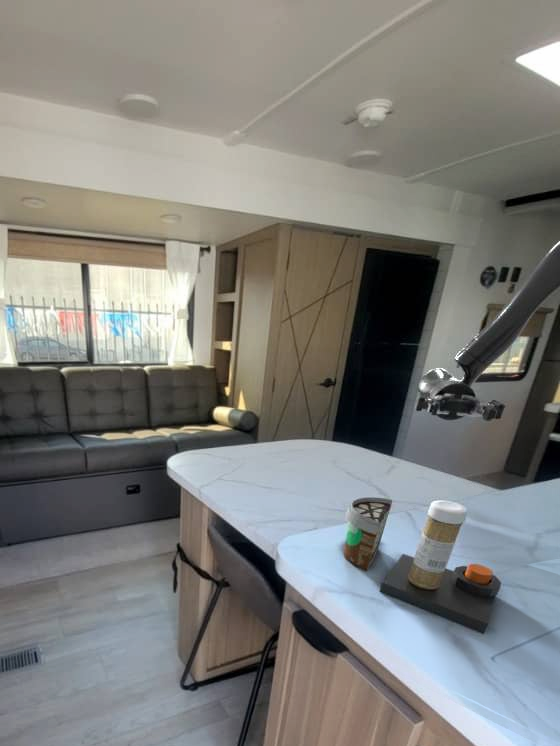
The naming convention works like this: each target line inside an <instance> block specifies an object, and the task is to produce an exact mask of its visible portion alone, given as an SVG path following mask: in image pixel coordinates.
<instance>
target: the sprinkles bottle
mask: <svg viewBox="0 0 560 746" xmlns="http://www.w3.org/2000/svg"><path fill="white" fill-rule="evenodd" d="M467 515H468V509H467V507H465V506H464V505H462V504H459V503H457V502H454V501H449V500H442V499H441V500H434V501H432V502H431V504H430V506H429V508H428V512H427V520H426V522H425V525H424V528H423V530H422V533H421V536H420V539H419V542H418V545H417V549H416V551H415V554H414V556H413V557H414V561H413V565H412V567H411V571H410V573H409V574H408V579H409V581H410V582H411V583H413V584H414V585H416V586H418V587H420V588H423V589H432V590H433V589H437V588H438V587H439V586H440V581H441V578H442V576H443V573H444V570H445V568H446V569H447V565H448V563H449V560H450V558H451V555H452V552H453V550H454V547H455V545H456V541H457V538H458V535H459V533H460V530H461V526H462V525H463V524H464V522H465V521H466V518H467Z"/></svg>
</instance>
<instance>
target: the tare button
mask: <svg viewBox="0 0 560 746" xmlns="http://www.w3.org/2000/svg"><path fill="white" fill-rule="evenodd" d="M467 566H468V567H467V570H466V572H465V577H466V578H468V579H470V580H471V581H474V582H477V583H480V584H488V583H489V581H490V579H491V576H492V575H494V573H493V570H492V569H490V568H489V567H487V566H484V565H483V564H478V563H470V564H468V565H467Z"/></svg>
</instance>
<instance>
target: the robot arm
mask: <svg viewBox="0 0 560 746" xmlns="http://www.w3.org/2000/svg"><path fill="white" fill-rule="evenodd" d="M559 288H560V240H559V241H557V243H556V244H555V245H554V246H553V247H552V248H551V249H550V250H549V251H548V253H547V254H546V255H545V256H544V257H543V258H542V260H541V261H540V262H539V263H538V265H537V266H536V267H535V268H534V270H533V271H532V272H531V273H530V274H529V276H528V277H527V279H526V280H525V281H524V282H523V283H521V286H520V287H519V288H518V289H517V290H516V291H515V293H514V294H513V295H512V296H511V297H510V299H509V300H508V301H507V302H506V304H505V305H504V306H503V307H502V308H501V309H500V310H499V311H498V313H497V314H496V315H495V316H494V317H493V318H492V319H491V320H490V321H489V323H488V324H486V326H484V328H482V329H481V331H480V332H478V333H477V334H476V335H475V337H473V338H472V339H471V340H470V341H469V342H468V343H467V344H466V345H465V346H464V347H463V348H462V349H461V350H460V351H459V352H458V353H457V354H456V356H455V357H454V361H455V363H456V364H457V366H458V367H459V368H460V370H462V372H463V376H462V378H461V380H459V379H458V378H456V377H455V376H453V375H452V374H451V373H449V372H448V371H447V370H446V369H444V368H441V367H438V368H434V369H430V370H429V371H428V372H426V373H425V374H424V375H423V376H422V377H421V379H420V380H419V382H418V385H417V392H418V395H417V397H416V401H415V405H414V411H416V412H422V411H423V410H425V411H424V412H425V413H428V414H430V416H436V417H438V418H439V419H442V420H444V421H455V420H459V419H463V418H464V417H469V418H472V419H476V418H477V419H479V418H482V419H483V420H484V421H487V422H491V421H492V420H501V419H502V416H503V413H504V410H505V408H506V406H507V405H506V404H504V403H502V402H500V401H499V400H496V399H491V400H488V402H486V400H485V399H483V398H478V397H476V396H477V395H476V393H475V391H474V390H473V388H472V386H473V385H474V384H475V382H476V381H477V380H478V378H479V377H480V376H481V375H482V374H483V373H484V372H485V371H486V370H487V369H488V368H489V367H490V366H491V365H493V363H495V362H496V361H498V359H499V358H500V357H502V356H503V355H504V354H505V353H506V352H507V351H508V350H509V349H510V348H511V347H512V346H513V345H514V344H515V343H516V341H517V339H518V338H519V337H520V335H521V333H522V332H523V330H524V329H525V327H526V326H527V324H528V323H529V321H530V319H531V318H532V316H533V314H535V313H536V311H537V310H538V309H539V308H540V307H541V305H542V304H543V303H544V302H545V301H546V300H547V299H548V298H549V297H550V296H551V295H552V294H553V293H555V292H556V291H557V290H558V289H559Z"/></svg>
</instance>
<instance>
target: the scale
mask: <svg viewBox="0 0 560 746" xmlns="http://www.w3.org/2000/svg"><path fill="white" fill-rule="evenodd" d="M414 557H415V556H411V555H408V554H404V553H402V555H401V556H400V557H399V559H398V560H397V561H396V563H395V564H394V565H393V567H392V568H391V570H390V571H389V572H388V573H387V575H386V577H384V579H383V581H382V582H381V584H380V588H379V591H378V592H379V593H381V594H383V595H386V596H388V597H391V598H393V599H395V600H398V601H401V602H403V603H405V604H408V605H411V606H413V607H415V608H418V609H421V610H423V611H426V612H428V613H431V614H433V615H436V616H437V617H440V618H443V619H446V620H447V621H449V622H452V623H454V624H457V625H460V626H463V627H465V628H467V629H470V630H472V631H475V632H477V633H480V634H482V635H485V632H486V631H487V628H488V626H489V623H490V619H491V616H492V612H493V608H494V604H495V601H496V596H497V595H498V593H499V591H500V589H501V586H502V581H501V580H500V579H499V578H498V577H497V576H496V575H494V574H492V576H491V579H490V581H489V583H488V584H480V583H477V582H474V581H471V580H470V579H468V578H466V577H465V572H466V570H467V567H468V565H461V566H455V568H454V570H452V569H449V568H447V567H446V568H445V570H444V573H443V576H442V578H441V581H440V586H439V587H438V588H437V589H433V590H432V589H423V588H420V587H418V586H416V585H414V584H413V583H411V582H410V581H409V579H408V574H409V573H410V571H411V567H412V565H413V561H414Z"/></svg>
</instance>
